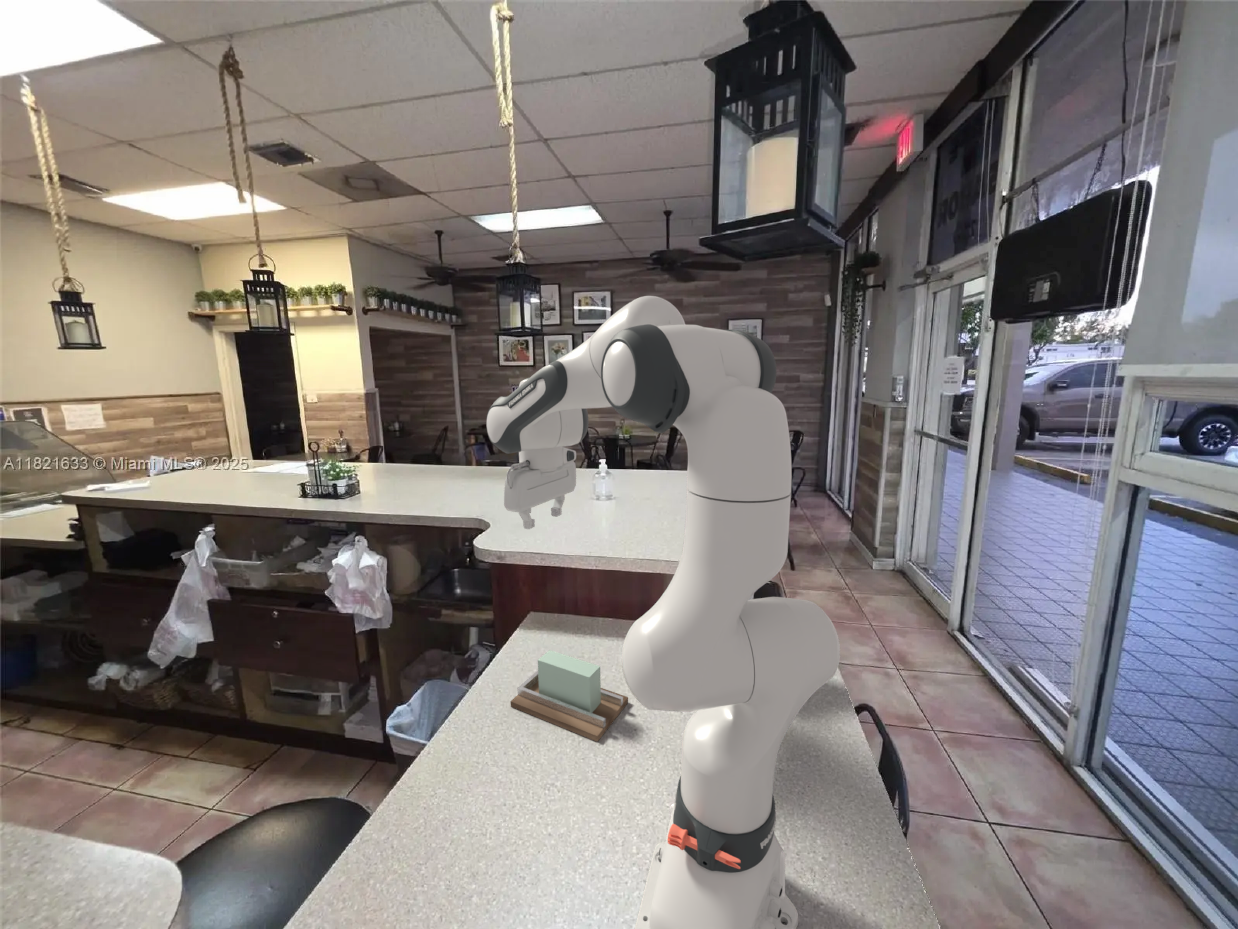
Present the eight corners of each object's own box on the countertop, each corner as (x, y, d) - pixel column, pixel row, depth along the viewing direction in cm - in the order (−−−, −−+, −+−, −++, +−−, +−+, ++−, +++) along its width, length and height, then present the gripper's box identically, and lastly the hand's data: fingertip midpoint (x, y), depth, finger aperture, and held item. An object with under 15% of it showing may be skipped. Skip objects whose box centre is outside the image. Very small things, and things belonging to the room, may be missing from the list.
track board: (597, 742, 89) (597, 736, 88) (510, 706, 98) (510, 701, 98) (628, 702, 99) (628, 697, 99) (547, 674, 108) (546, 669, 108)
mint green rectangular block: (590, 715, 94) (589, 677, 92) (539, 696, 99) (537, 660, 98) (600, 702, 97) (600, 666, 95) (550, 684, 103) (549, 649, 101)
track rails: (603, 728, 90) (603, 721, 90) (517, 694, 100) (517, 688, 99) (623, 703, 97) (622, 696, 96) (540, 674, 106) (540, 668, 106)
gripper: (520, 467, 91) (523, 539, 93) (580, 450, 108) (581, 511, 111) (494, 464, 94) (497, 533, 96) (557, 448, 111) (558, 507, 114)
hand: (543, 521), depth 104 cm, fingers open, 8 cm apart
